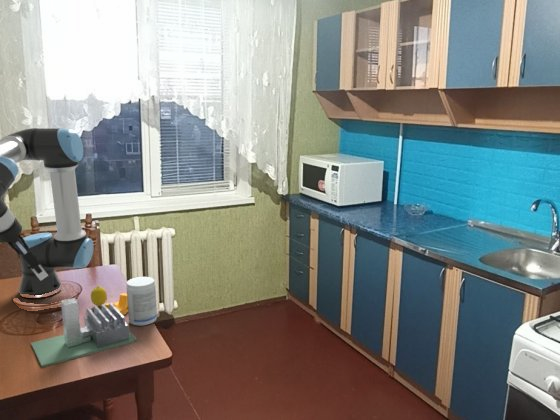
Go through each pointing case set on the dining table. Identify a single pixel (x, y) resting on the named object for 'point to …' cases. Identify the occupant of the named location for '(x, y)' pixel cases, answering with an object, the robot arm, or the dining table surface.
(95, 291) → the lemon
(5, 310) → the dining table surface
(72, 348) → the board
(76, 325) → the white upright block
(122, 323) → the heatsink
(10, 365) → the dining table surface
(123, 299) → the pipe clamp
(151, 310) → the supplement tub
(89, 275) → the dining table surface
